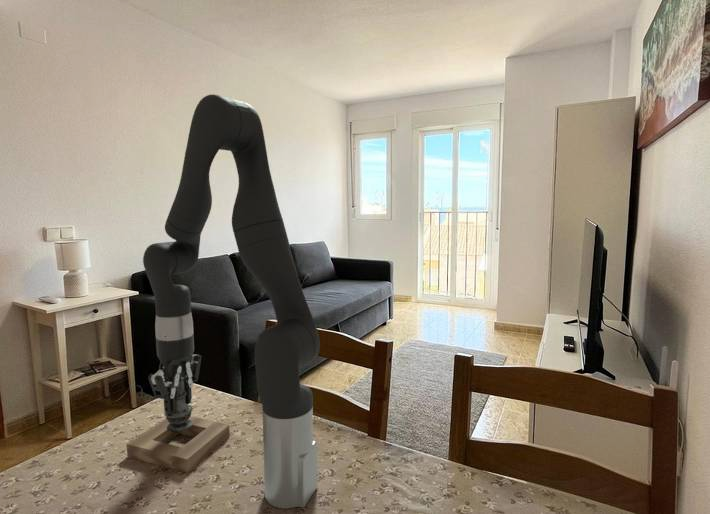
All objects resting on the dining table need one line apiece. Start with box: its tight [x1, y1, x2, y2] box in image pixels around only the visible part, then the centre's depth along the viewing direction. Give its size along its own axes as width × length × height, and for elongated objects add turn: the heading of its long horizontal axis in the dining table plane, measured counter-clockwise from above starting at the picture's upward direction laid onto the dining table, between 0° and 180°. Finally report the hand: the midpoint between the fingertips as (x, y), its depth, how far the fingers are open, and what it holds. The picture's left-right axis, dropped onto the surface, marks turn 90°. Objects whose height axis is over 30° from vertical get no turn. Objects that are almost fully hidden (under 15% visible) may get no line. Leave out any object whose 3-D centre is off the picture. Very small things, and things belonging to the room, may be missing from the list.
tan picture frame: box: [126, 415, 231, 474], centre depth 93 cm, size 16×14×3 cm
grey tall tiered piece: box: [163, 378, 194, 432], centre depth 92 cm, size 6×6×12 cm
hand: (178, 407), depth 92 cm, fingers closed on grey tall tiered piece, 4 cm apart
